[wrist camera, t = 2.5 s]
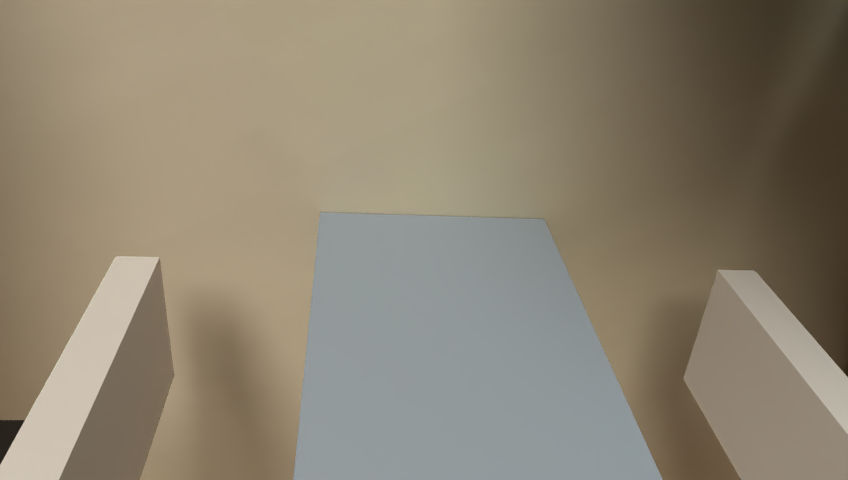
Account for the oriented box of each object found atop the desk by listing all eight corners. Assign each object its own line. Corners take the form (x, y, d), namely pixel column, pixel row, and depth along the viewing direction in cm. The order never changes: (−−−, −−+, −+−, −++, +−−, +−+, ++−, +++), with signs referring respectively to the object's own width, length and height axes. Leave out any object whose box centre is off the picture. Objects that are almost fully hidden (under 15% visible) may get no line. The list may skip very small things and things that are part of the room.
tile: (320, 212, 16) (248, 928, 6) (544, 219, 17) (847, 886, 6) (319, 274, 17) (256, 1002, 7) (533, 278, 17) (788, 960, 7)
